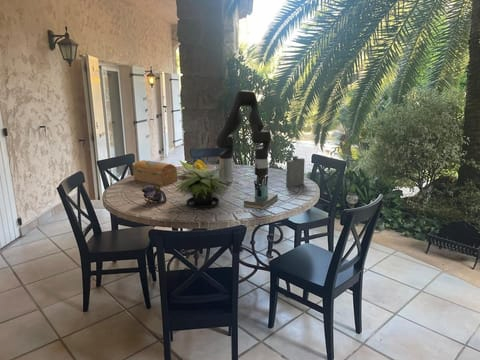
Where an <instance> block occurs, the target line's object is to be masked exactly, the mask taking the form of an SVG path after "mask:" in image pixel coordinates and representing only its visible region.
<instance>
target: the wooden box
mask: <svg viewBox="0 0 480 360" xmlns="http://www.w3.org/2000/svg"><path fill="white" fill-rule="evenodd" d="M132 169H133V170H132V171H133V181H136V180H139V181H138V182H141V181H143V182H142V183H146V182H147V183H146V184H151V183H152V184H151V185H155V186H162V187H163V186H166V185H168V184H169V185H170V184H174V183H177V181H178V176H177V175H178V171H177V166H175V165H173V164H172V163H165V162H161V161H154V160H152V161H151V160H147V159H146V160H145V159H143V160H139V161H137V162H135V163H134V165H133V167H132Z"/></svg>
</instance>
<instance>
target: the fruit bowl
mask: <svg viewBox="0 0 480 360" xmlns="http://www.w3.org/2000/svg"><path fill="white" fill-rule="evenodd" d="M179 162H180V165H182V164H184V165H187V166H184V165H182V168H181V172H183V173H184V175H185V176H186V175H187V174H188V171H189V170H185V169H190V168H185V167H188V166H191V167H193V165H195V169H198V170H200V173H201V174H204V173H203V172H206V171H207V172H208V171H210V172H212V171H213V170H216V169H217V167H216V166H215V165H212V164H206V163H205V162H204V161H203V160H202V159H197V160H196V161H195V162H194V163H193V164H189V163H187V162H185V161H182V160H179ZM190 170H191V169H190ZM208 173H209V172H208Z"/></svg>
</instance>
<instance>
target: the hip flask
mask: <svg viewBox="0 0 480 360" xmlns="http://www.w3.org/2000/svg"><path fill="white" fill-rule="evenodd" d="M305 163H306V161H305V158H299V156H298V155H292V159H291V160H290V159H289V160H287V161H286V173H285V174H286V176H285V177H286V179H285V181H286V184H285V185H286V186H285V187H286V188H288V189H289V188H292V187H297V186H300V184H301V185H304V183H305ZM296 185H297V186H296Z"/></svg>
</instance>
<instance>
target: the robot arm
mask: <svg viewBox="0 0 480 360" xmlns="http://www.w3.org/2000/svg"><path fill="white" fill-rule="evenodd" d="M242 107H250V109H251V111H250V113H249V115H248V122H249V125H250V128H251V140H252V142H253V143H254V144H257V145H260V144H261V146H260V147H256V148H255V150H254V175H255V176H256V180H254V181H253V184H254V191H255V190H257V196H258V197H261V187H262V186H263V185H268V180H269V176H268V174H269V161H268V160H269V159H268V157H269V155H268V154H269V147H270V143H271V140H272V134H271V132H270V131H269V130H264V128H265V127H264V123H263V121H262V117H261V114H260V111H259V105H258V100H257V96H256V93H255V92H254V91H253V90H245V89H244V90H243V89H241V90H238V91H237V93H236V96H235V98H234V101H233V105H232V107H231V110H230V111H229V114H228V116H227V118H226V119H225V124H224V125H223V127H222V129H221V131H220V132H219V134H218V135H217V138H216V142H215V143H216V146H217V148H219V149H225V150H223V151H222V152H221V153H219V157H218V158H219V160H218V161H219V168H218V169H220V168H224V169H220V170H218V176H219V177H221V178H224V179H223V180H224V182H225V181H226V182H228V183H227V184H230V183H233V182H234V174H233V173H234V170H233V169H234V167H233V165H234V164H233V162H234V160H233V156H234V138H233V136H232V134H234V133H235V132H236V131H237V130H238V129H239V127H240V126H241V124H242V121H243V117H242V113H241V111H240V109H241V108H242ZM219 172H220V173H219ZM225 179H226V180H225ZM222 182H223V181H222ZM222 182H221V181H220V182H219V183H222ZM259 184H260V185H259Z"/></svg>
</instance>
